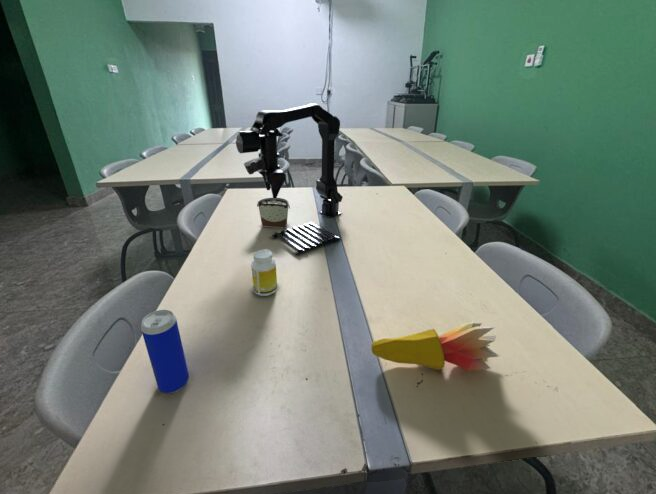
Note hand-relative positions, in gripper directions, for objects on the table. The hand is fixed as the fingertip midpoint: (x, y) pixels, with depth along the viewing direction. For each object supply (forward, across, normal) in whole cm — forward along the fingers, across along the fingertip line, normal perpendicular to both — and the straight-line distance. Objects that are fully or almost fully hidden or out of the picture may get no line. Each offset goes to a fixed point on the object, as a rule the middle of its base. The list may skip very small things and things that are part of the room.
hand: (271, 193), depth 114 cm
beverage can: (+14, +58, -34) cm, 69 cm away
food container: (+14, -4, +2) cm, 14 cm away
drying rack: (+14, +12, +8) cm, 20 cm away
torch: (+14, +73, +14) cm, 75 cm away
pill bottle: (+14, +37, -12) cm, 41 cm away
